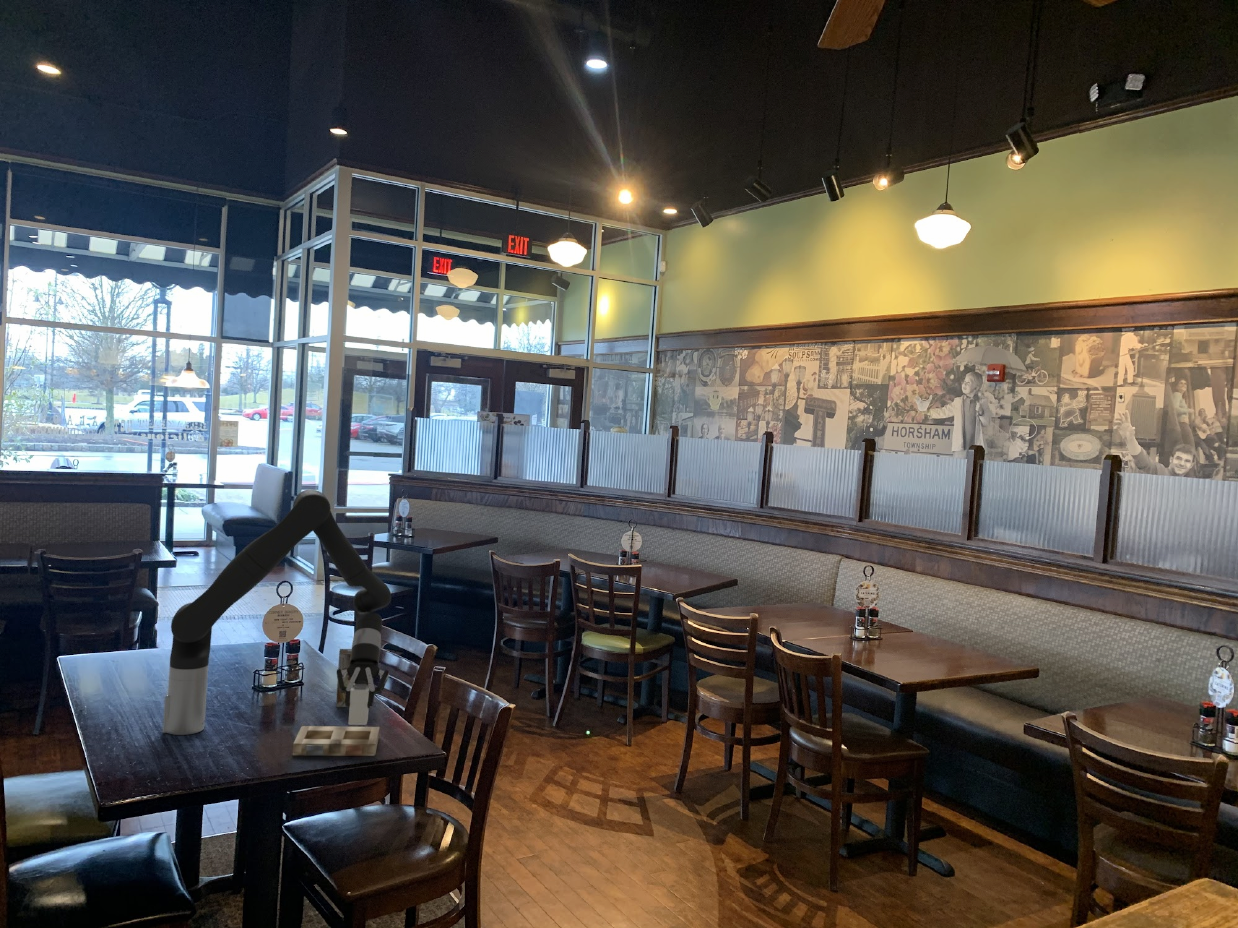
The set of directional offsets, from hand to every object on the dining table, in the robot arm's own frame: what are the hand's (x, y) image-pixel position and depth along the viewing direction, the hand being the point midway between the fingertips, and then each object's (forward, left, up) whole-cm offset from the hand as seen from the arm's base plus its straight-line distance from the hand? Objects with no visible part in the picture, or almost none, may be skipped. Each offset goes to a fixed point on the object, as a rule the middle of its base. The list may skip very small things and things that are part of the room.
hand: (358, 706), depth 225 cm
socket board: (-5, +2, -11) cm, 12 cm away
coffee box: (-5, +37, -11) cm, 39 cm away
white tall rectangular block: (0, +2, -5) cm, 5 cm away
